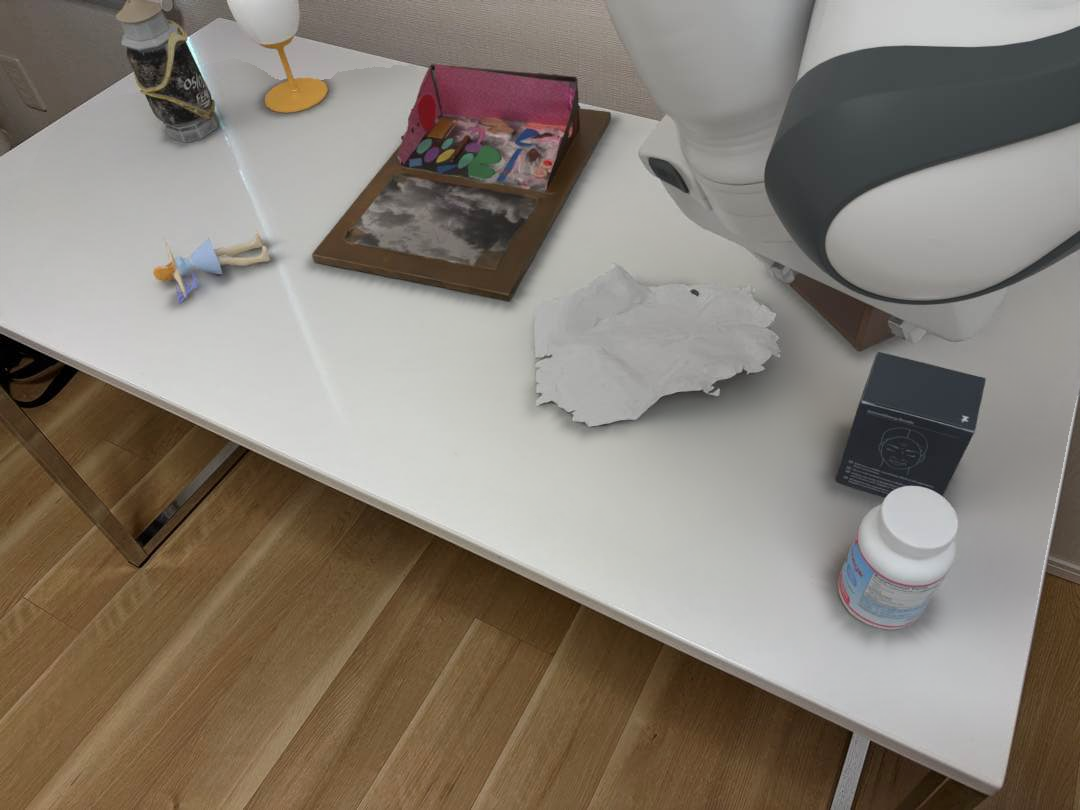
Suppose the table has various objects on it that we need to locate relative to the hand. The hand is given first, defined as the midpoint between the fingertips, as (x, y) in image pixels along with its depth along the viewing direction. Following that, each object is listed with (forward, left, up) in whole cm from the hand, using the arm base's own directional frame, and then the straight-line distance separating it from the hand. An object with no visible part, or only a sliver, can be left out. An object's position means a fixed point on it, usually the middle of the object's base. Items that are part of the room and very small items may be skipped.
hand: (846, 299), depth 51 cm
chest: (-15, -21, -21) cm, 33 cm away
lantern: (+62, -70, -21) cm, 96 cm away
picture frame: (+24, -48, -21) cm, 57 cm away
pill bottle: (-3, +11, -21) cm, 24 cm away
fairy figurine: (+54, -39, -21) cm, 70 cm away
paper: (+9, -17, -21) cm, 29 cm away
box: (-8, 0, -21) cm, 22 cm away
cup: (+48, -75, -21) cm, 92 cm away
